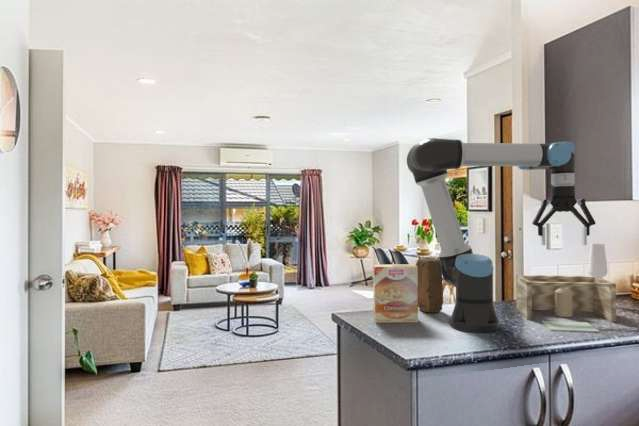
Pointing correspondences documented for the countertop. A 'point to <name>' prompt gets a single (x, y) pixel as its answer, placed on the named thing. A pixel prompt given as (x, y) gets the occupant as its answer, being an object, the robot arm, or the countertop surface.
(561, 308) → the candle
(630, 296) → the countertop surface
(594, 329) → the mat
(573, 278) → the access cubby
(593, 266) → the champagne flute
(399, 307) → the coffeecake box
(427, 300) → the block
